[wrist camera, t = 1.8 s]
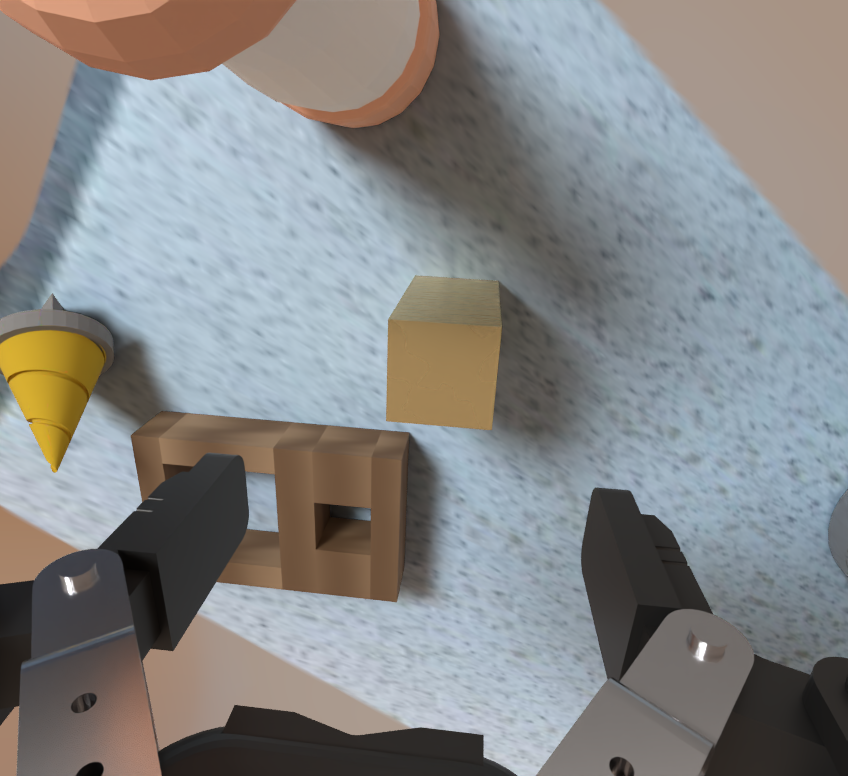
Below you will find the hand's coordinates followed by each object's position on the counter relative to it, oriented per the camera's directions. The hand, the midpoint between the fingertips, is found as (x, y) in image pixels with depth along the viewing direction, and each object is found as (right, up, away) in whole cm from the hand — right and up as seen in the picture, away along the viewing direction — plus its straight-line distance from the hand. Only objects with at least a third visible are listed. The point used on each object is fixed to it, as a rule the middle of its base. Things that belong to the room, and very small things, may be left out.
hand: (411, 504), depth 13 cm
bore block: (-8, -3, +20) cm, 22 cm away
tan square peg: (+2, +6, +15) cm, 16 cm away
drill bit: (-17, +5, +18) cm, 25 cm away
